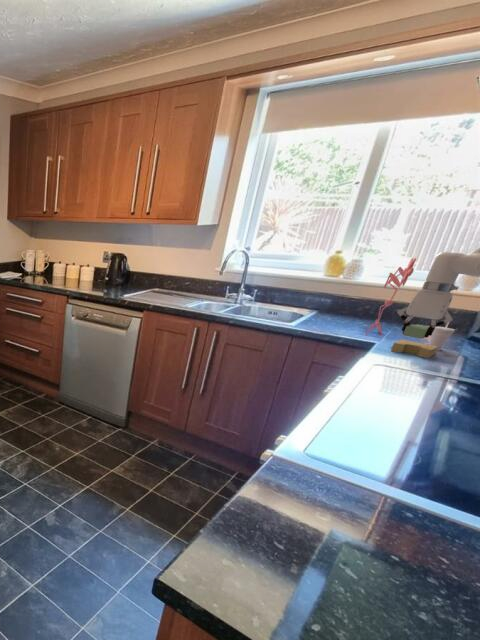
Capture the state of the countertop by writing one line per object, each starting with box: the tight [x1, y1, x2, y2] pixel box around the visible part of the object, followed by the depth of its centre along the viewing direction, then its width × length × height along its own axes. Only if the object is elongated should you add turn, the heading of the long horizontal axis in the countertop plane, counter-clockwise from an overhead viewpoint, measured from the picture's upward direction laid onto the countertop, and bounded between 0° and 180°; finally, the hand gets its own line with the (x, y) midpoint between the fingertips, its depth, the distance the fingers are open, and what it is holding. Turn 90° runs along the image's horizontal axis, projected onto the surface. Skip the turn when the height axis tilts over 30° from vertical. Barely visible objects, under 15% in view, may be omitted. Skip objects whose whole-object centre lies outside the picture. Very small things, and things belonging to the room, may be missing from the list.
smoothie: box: [428, 321, 456, 351], centre depth 172 cm, size 6×6×14 cm
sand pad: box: [390, 338, 438, 359], centre depth 170 cm, size 11×11×4 cm
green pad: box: [402, 323, 430, 340], centre depth 163 cm, size 6×10×4 cm, turn 125°
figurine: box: [362, 257, 417, 340], centre depth 192 cm, size 15×26×35 cm, turn 136°
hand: (415, 334), depth 163 cm, fingers closed on green pad, 5 cm apart
